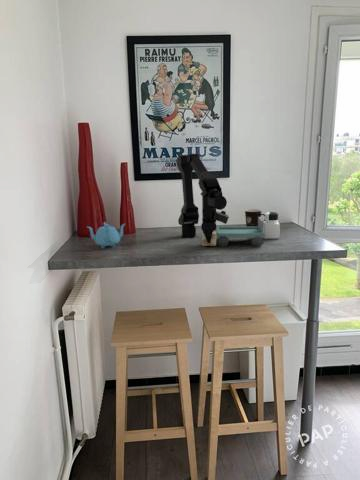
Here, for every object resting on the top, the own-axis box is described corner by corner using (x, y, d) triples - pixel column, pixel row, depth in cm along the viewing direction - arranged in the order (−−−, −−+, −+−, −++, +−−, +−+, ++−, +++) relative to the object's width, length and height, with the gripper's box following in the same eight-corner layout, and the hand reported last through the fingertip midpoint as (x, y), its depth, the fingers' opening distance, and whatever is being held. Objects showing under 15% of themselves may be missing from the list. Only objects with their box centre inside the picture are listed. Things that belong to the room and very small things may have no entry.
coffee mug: (241, 228, 194) (242, 209, 192) (255, 226, 197) (256, 208, 194) (252, 232, 184) (252, 213, 181) (266, 230, 186) (267, 211, 184)
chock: (202, 245, 157) (202, 234, 156) (202, 242, 162) (202, 231, 161) (216, 245, 156) (216, 234, 155) (215, 242, 161) (215, 231, 160)
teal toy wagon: (217, 246, 158) (217, 222, 156) (216, 239, 172) (216, 216, 169) (263, 246, 156) (264, 222, 154) (259, 238, 170) (259, 216, 167)
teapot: (108, 251, 156) (107, 228, 153) (86, 247, 162) (84, 225, 160) (127, 244, 167) (126, 222, 164) (106, 241, 173) (104, 220, 171)
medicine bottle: (277, 235, 176) (278, 211, 174) (279, 238, 170) (280, 213, 167) (262, 235, 177) (263, 211, 174) (264, 238, 170) (264, 213, 167)
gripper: (228, 209, 145) (228, 247, 149) (226, 203, 163) (226, 236, 167) (201, 210, 146) (201, 247, 150) (202, 203, 164) (202, 236, 168)
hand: (209, 241), depth 159 cm, fingers closed on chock, 5 cm apart
